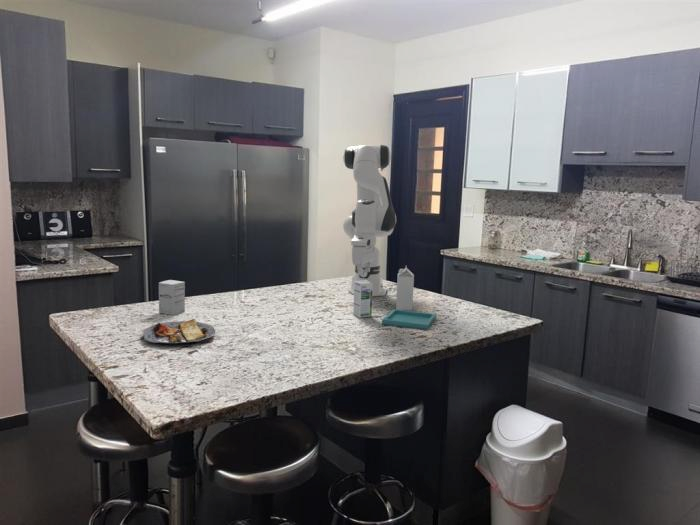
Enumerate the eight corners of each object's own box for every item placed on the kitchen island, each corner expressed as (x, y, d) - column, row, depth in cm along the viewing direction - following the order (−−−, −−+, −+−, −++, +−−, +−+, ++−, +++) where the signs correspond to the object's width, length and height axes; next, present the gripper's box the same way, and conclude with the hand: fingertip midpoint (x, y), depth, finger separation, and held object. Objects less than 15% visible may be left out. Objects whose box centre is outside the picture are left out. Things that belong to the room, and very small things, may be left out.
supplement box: (158, 313, 213) (157, 282, 211) (171, 309, 220) (170, 279, 218) (173, 315, 210) (172, 284, 208) (185, 311, 217) (185, 281, 215)
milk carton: (411, 307, 239) (414, 265, 236) (412, 311, 232) (414, 268, 229) (395, 306, 239) (398, 264, 236) (395, 310, 232) (397, 267, 229)
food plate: (141, 328, 192) (141, 319, 191) (208, 324, 201) (208, 315, 200) (145, 352, 169) (145, 341, 168) (219, 346, 178) (219, 336, 178)
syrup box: (359, 318, 217) (360, 283, 215) (352, 314, 222) (354, 280, 220) (371, 316, 220) (373, 282, 217) (364, 313, 225) (366, 279, 222)
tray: (393, 313, 226) (393, 309, 225) (435, 318, 220) (435, 314, 220) (381, 324, 209) (382, 319, 209) (427, 330, 203) (427, 325, 203)
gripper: (365, 237, 227) (364, 269, 228) (349, 241, 207) (348, 276, 209) (379, 238, 225) (378, 270, 226) (365, 242, 205) (363, 277, 207)
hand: (363, 273), depth 218 cm, fingers open, 8 cm apart
